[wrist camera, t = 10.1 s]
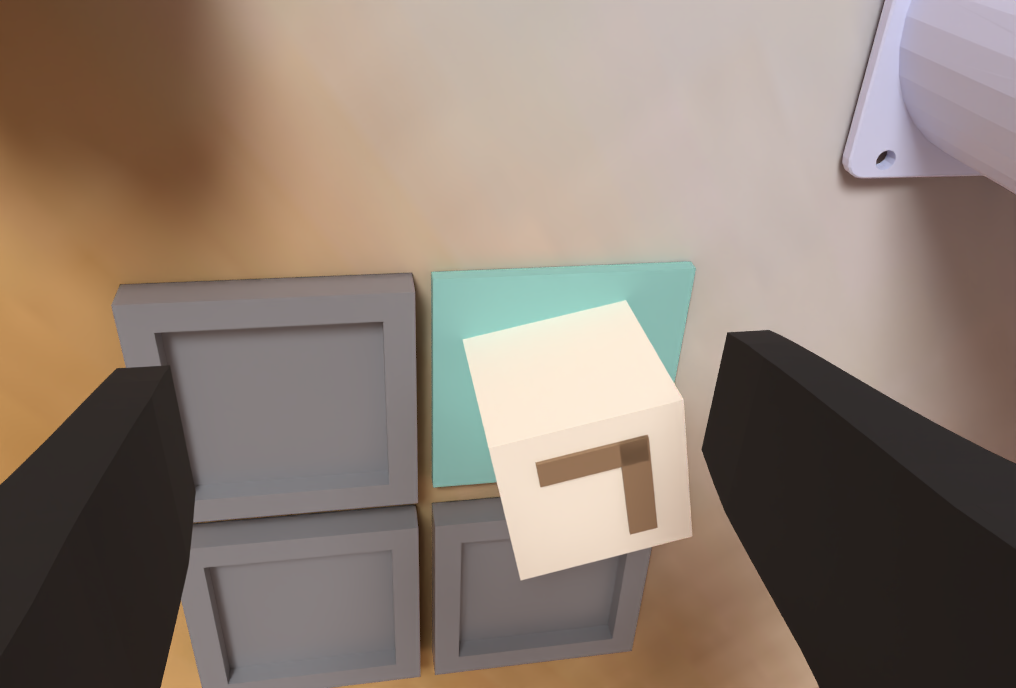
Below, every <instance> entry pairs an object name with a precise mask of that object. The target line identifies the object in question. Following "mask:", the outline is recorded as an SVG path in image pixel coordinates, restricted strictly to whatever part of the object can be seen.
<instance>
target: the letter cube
mask: <svg viewBox="0 0 1016 688" xmlns="http://www.w3.org/2000/svg"><path fill="white" fill-rule="evenodd" d="M463 344H464V348H465V352H466V356H467V360H468V365H469V369H470V373H471V377H472V381H473V385H474V389H475V394H476V398H477V402H478V406H479V410H480V414H481V418H482V423H483V427H484V431H485V435H486V439H487V443H488V448H489V452H490V456H491V460H492V464H493V468H494V472H495V476H496V481H497V485H498V489H499V493H500V497H501V501H502V505H503V510H504V514H505V518H506V522H507V526H508V530H509V534H510V539H511V543H512V547H513V551H514V555H515V559H516V563H517V567H518V572H519V576H520V580H525V579H528V578H532V577H536V576H540V575H544V574H548V573H552V572H556V571H560V570H564V569H567V568H571V567H575V566H579V565H583V564H587V563H591V562H595V561H599V560H603V559H607V558H610V557H614V556H618V555H622V554H626V553H630V552H634V551H638V550H642V549H646V548H649V547H653V546H657V545H661V544H665V543H669V542H673V541H677V540H681V539H685V538H688V537H692V522H691V507H690V491H689V475H688V460H687V444H686V428H685V412H684V400H683V398H682V396H681V394H680V393H679V391H678V389H677V387H676V386H675V384H674V382H673V381H672V379H671V377H670V375H669V374H668V372H667V370H666V368H665V367H664V365H663V363H662V362H661V360H660V358H659V356H658V355H657V353H656V351H655V349H654V348H653V346H652V344H651V343H650V341H649V339H648V337H647V336H646V334H645V332H644V330H643V329H642V327H641V325H640V324H639V322H638V320H637V318H636V317H635V315H634V313H633V311H632V310H631V308H630V306H629V305H628V303H627V301H626V300H625V301H620V302H616V303H612V304H608V305H604V306H600V307H596V308H591V309H587V310H583V311H579V312H575V313H571V314H566V315H562V316H558V317H554V318H550V319H546V320H541V321H537V322H533V323H529V324H525V325H521V326H517V327H512V328H508V329H504V330H500V331H496V332H492V333H487V334H483V335H479V336H475V337H471V338H467V339H463Z"/></svg>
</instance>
